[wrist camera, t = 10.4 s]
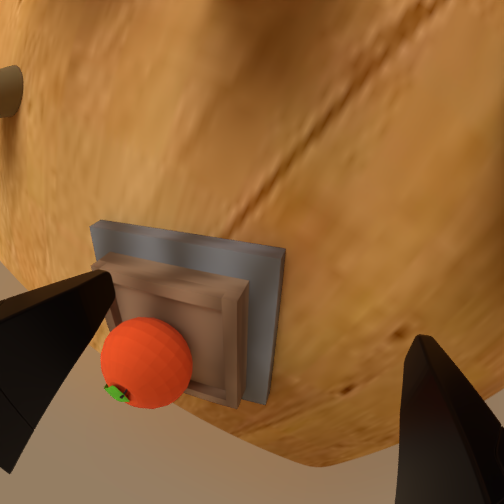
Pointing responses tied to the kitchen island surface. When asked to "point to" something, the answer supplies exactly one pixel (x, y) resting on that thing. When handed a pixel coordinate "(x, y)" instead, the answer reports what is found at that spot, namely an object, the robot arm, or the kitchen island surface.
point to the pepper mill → (10, 90)
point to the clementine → (146, 363)
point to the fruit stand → (200, 301)
